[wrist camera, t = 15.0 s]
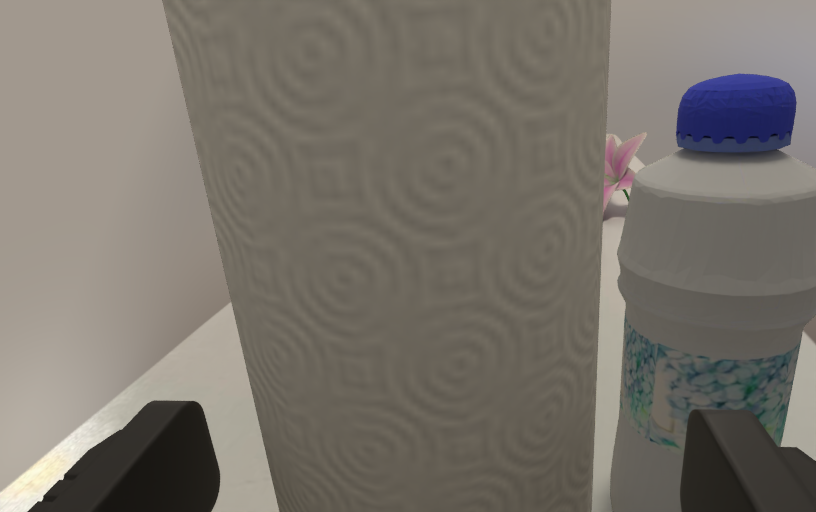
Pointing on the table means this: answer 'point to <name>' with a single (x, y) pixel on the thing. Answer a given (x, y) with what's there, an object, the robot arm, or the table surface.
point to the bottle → (712, 281)
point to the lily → (619, 165)
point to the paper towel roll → (409, 240)
